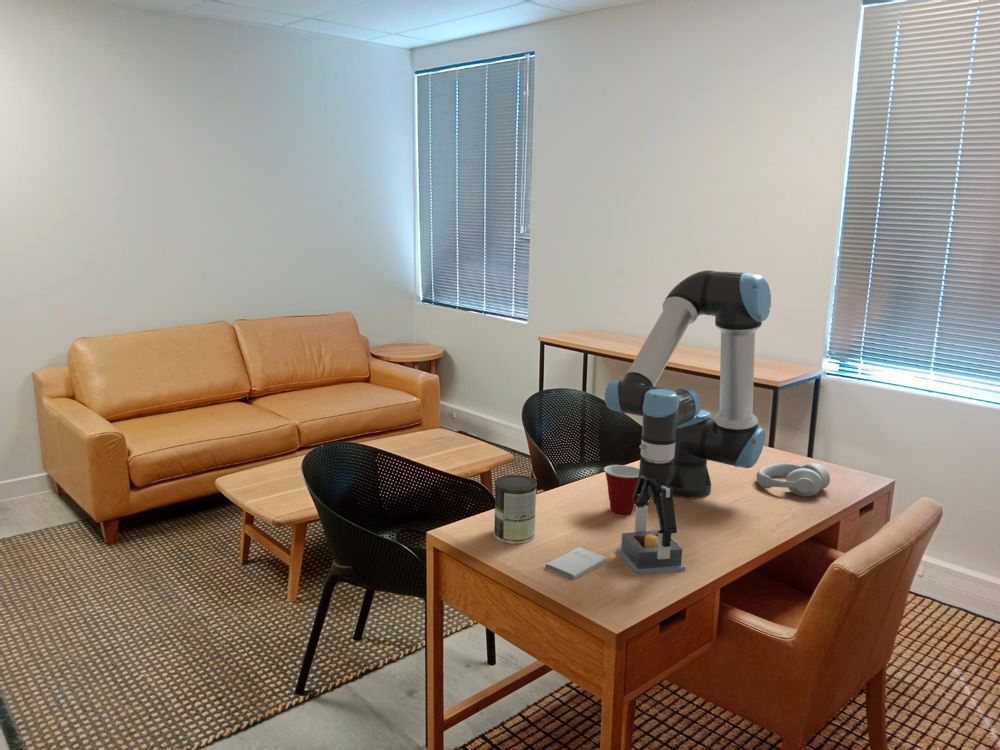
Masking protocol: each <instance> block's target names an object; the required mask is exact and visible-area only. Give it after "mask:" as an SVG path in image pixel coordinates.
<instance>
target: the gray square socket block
mask: <svg viewBox="0 0 1000 750" xmlns="http://www.w3.org/2000/svg"><path fill="white" fill-rule="evenodd" d="M659 530H660V529H659ZM659 530H649V531H648V530H646V531H645V532H635V531H633V532H623V533H622V532H621V545H620V547H621V549H622V550H623V552H624V553H625V554H626V555H627V556H628V558H629V559H630V560H631V561H632V563H633V564H634V565H635V566H636V568H637V569H646V568H658V567H670V566H681V563H682V560H683V548H682V547H681V546H680V545H679V544H678V543H677V542H676V540H674V539H673V538H672V537H671V547H670V558H668V559H658V558H657V551H658V547H653V548H644V545H645V536H646V535H649V534H652V535H656V536H659V533H658V531H659ZM682 564H683V563H682Z"/></svg>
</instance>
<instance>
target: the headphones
mask: <svg viewBox="0 0 1000 750" xmlns="http://www.w3.org/2000/svg"><path fill="white" fill-rule="evenodd" d="M755 477H756V481H757V484H759V486H760V487H761V488H763V489H771V488H773V487H774V488H787V489H788V490H789V491H790V492H791V493H792V494H794V495H797V496H800V497H812V496H815V495H817V493H819V492H820V490H824V489H826V488H827V487H828V486H829V485H830V482H831V476H830V473H829V472H828V469H827V468H826V467H825V466H823V465H822V464H820V463H818V462H817V463H815V462H811V463H810V462H809V463H806V464H803V465H799V464H795V463H790V462H779V463H772V464H768V465H765V466H762V467H760V469H758V471H757V472H756V476H755ZM777 477H786V480H779V479H774V478H777Z"/></svg>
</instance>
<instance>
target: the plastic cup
mask: <svg viewBox="0 0 1000 750" xmlns="http://www.w3.org/2000/svg"><path fill="white" fill-rule="evenodd" d="M639 470H640V467H639V468H638V467H635V466H630V465H622V464H621V465H619V464H612V465H610V464H609V465H607V466H604V468H603V471H604V473H605V476H606V477H605V478H606V483H607V484H606V485H607V493H608V499H609V507H610V511H611V513H612V514H614V515H616V516H625V517H626V516H630V515H632V514H633V512H634V508H635V500H634V501H633V499H632V496H633V493H634V490H635V486H636V483H637V480H638V477H639Z"/></svg>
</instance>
